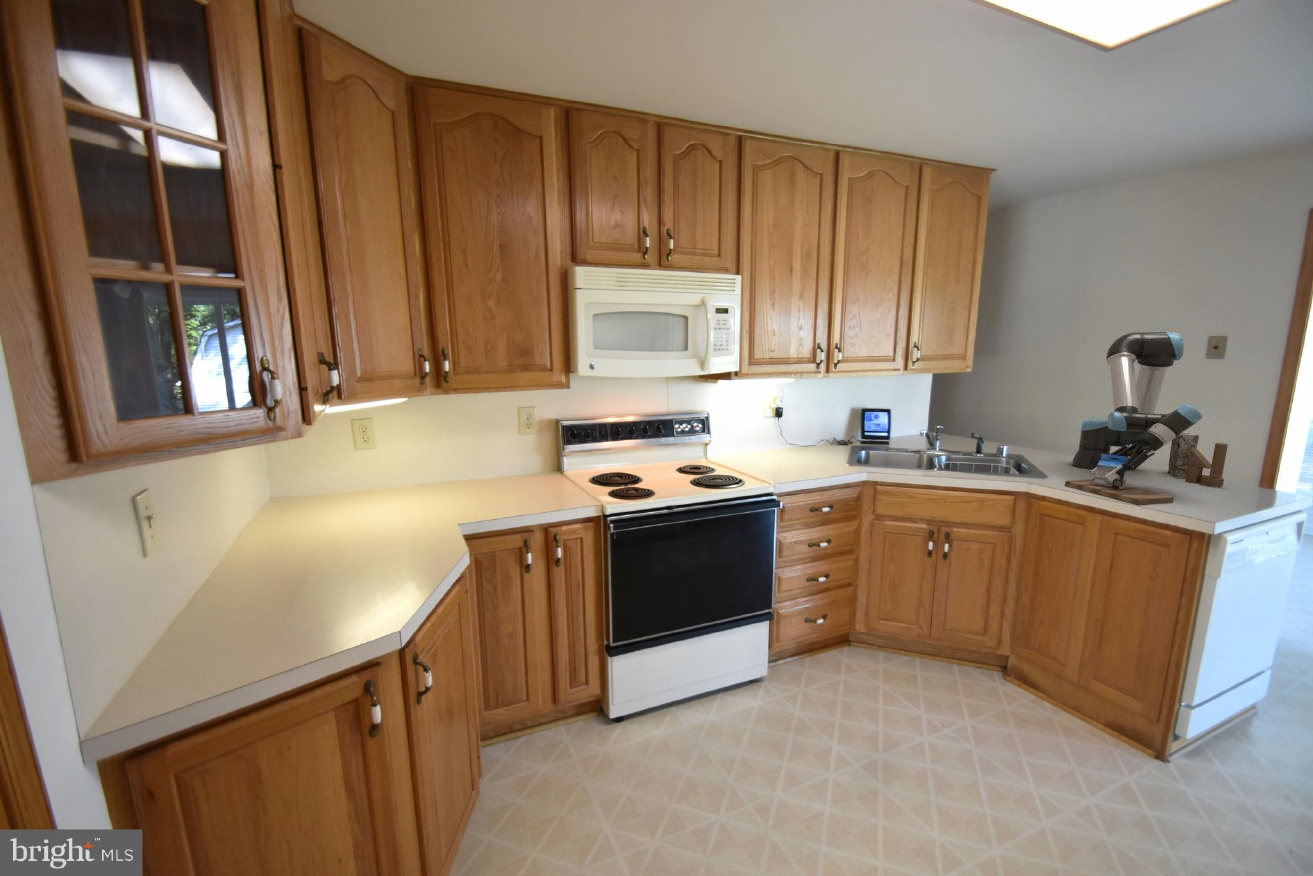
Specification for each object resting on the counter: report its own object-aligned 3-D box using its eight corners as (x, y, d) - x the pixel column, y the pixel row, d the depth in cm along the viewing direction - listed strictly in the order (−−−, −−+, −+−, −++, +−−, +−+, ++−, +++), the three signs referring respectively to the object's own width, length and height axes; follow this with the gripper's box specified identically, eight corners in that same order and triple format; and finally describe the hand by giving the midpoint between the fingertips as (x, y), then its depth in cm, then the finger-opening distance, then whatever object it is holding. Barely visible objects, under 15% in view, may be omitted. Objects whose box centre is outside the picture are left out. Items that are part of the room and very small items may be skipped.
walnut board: (1064, 485, 218) (1065, 480, 218) (1096, 483, 221) (1096, 478, 221) (1138, 505, 191) (1139, 499, 191) (1172, 502, 194) (1173, 497, 194)
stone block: (1194, 479, 228) (1202, 434, 225) (1173, 478, 231) (1180, 432, 228) (1181, 473, 240) (1189, 429, 237) (1161, 471, 243) (1168, 428, 240)
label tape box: (1093, 484, 211) (1097, 454, 209) (1097, 483, 213) (1101, 453, 211) (1122, 489, 204) (1126, 458, 202) (1125, 488, 206) (1130, 457, 204)
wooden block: (1190, 481, 226) (1197, 439, 223) (1223, 487, 216) (1231, 444, 213) (1184, 481, 225) (1191, 440, 222) (1216, 488, 215) (1225, 444, 212)
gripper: (1130, 426, 213) (1079, 463, 219) (1167, 435, 193) (1110, 475, 199) (1143, 440, 213) (1092, 476, 219) (1182, 450, 192) (1124, 490, 199)
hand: (1100, 476), depth 209 cm, fingers closed on label tape box, 8 cm apart
